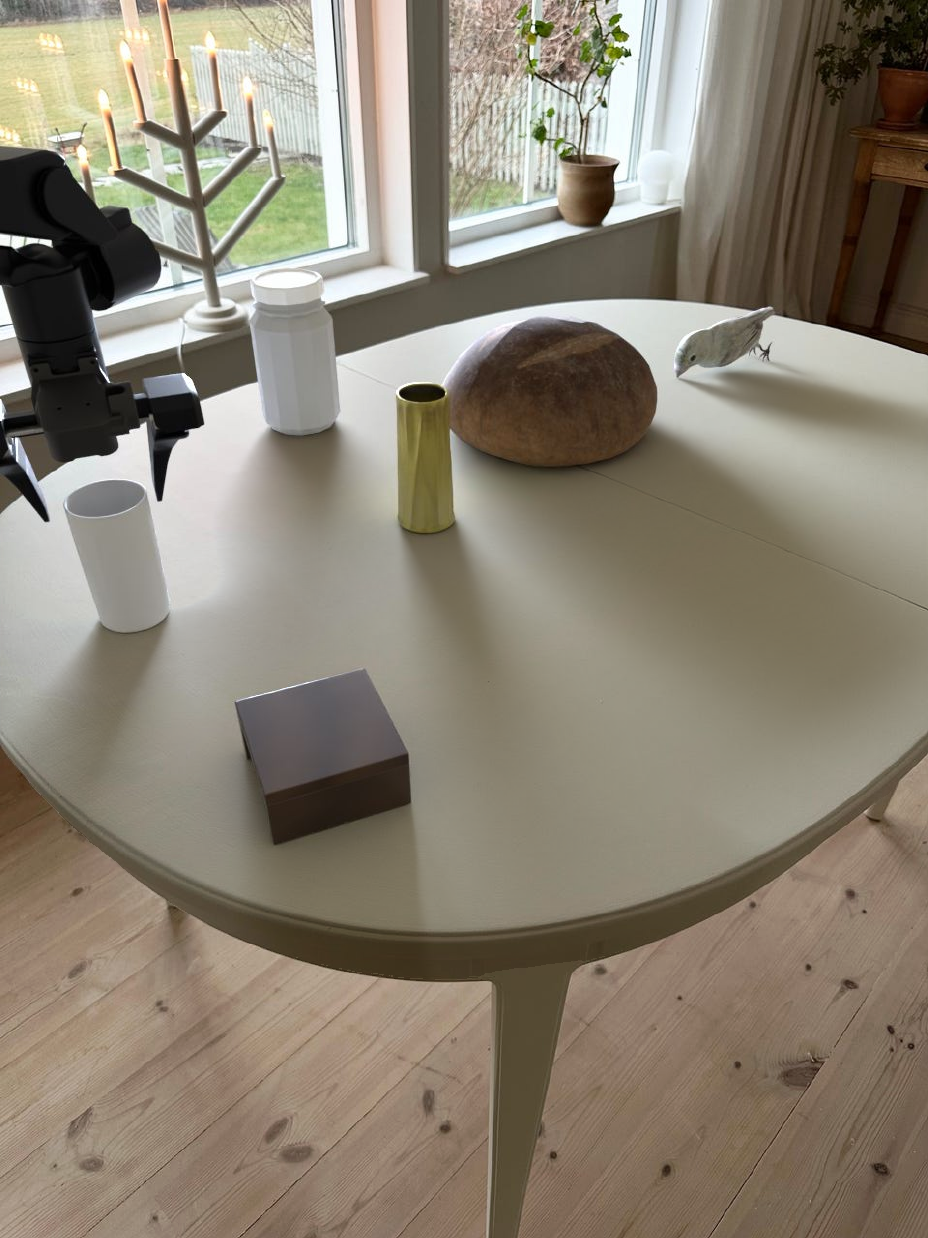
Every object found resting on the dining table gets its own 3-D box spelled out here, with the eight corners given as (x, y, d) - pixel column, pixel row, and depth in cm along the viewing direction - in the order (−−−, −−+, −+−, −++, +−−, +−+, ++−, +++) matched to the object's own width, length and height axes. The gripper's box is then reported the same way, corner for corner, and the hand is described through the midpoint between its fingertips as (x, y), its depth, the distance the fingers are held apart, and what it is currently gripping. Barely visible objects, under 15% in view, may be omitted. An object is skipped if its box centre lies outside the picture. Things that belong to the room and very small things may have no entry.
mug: (185, 617, 84) (159, 501, 77) (113, 645, 81) (79, 527, 74) (142, 569, 90) (115, 458, 83) (74, 593, 87) (39, 479, 80)
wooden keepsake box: (274, 845, 63) (264, 795, 60) (244, 749, 70) (234, 700, 67) (411, 803, 66) (409, 753, 63) (369, 715, 73) (365, 667, 70)
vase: (418, 540, 95) (413, 410, 86) (386, 516, 99) (379, 389, 90) (466, 522, 98) (466, 394, 89) (433, 499, 102) (430, 375, 93)
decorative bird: (663, 371, 131) (670, 319, 127) (749, 352, 137) (758, 301, 133) (687, 384, 127) (695, 330, 123) (775, 364, 134) (785, 312, 129)
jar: (250, 418, 119) (229, 275, 108) (317, 400, 123) (303, 260, 113) (286, 445, 112) (267, 296, 102) (355, 424, 117) (344, 279, 106)
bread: (399, 418, 118) (394, 316, 111) (554, 370, 131) (560, 276, 124) (531, 497, 102) (537, 383, 94) (694, 433, 115) (711, 329, 107)
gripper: (-87, 387, 61) (-14, 581, 70) (198, 348, 67) (230, 533, 76) (-77, 333, 69) (-13, 513, 79) (175, 302, 75) (207, 474, 84)
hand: (104, 509), depth 79 cm, fingers open, 9 cm apart
